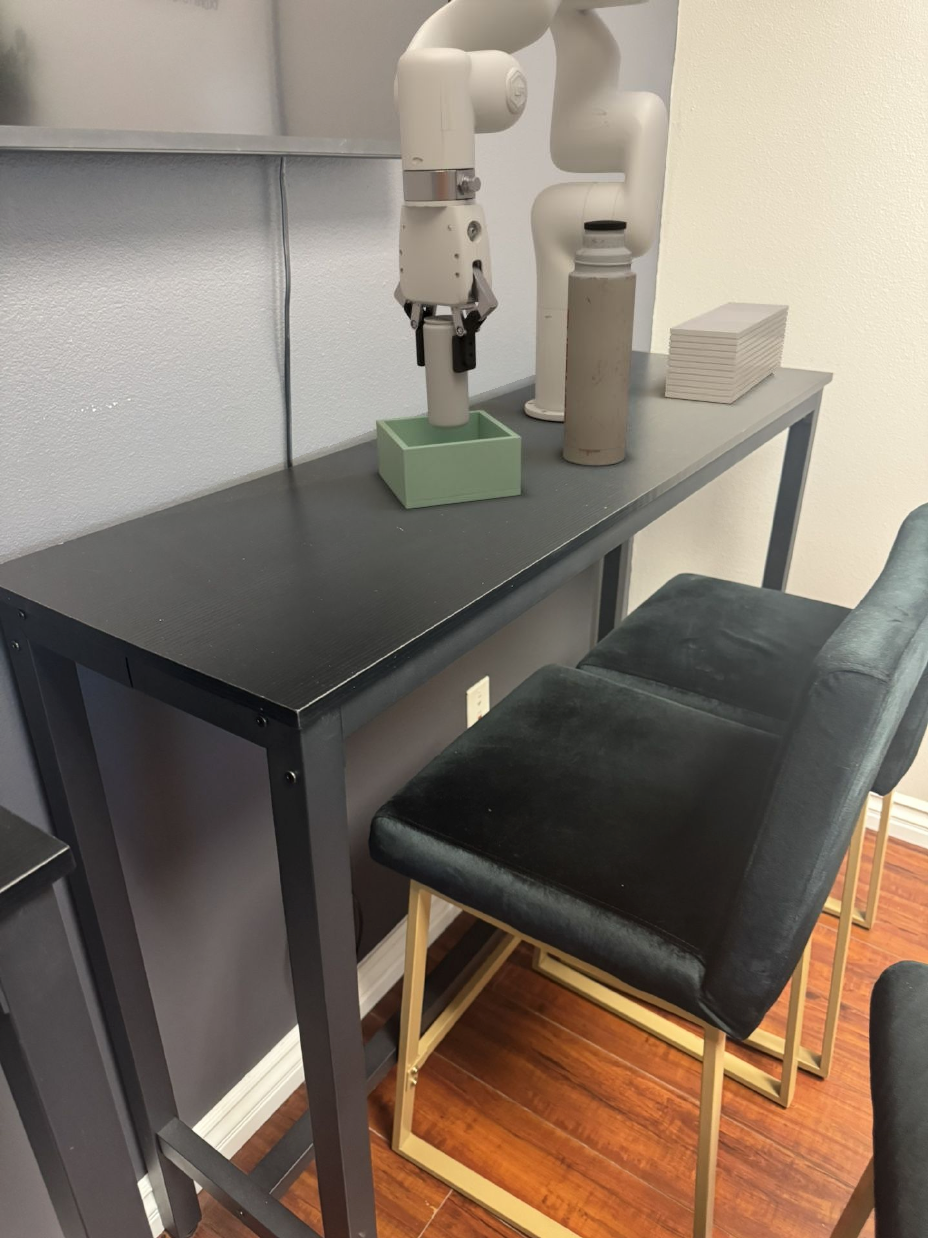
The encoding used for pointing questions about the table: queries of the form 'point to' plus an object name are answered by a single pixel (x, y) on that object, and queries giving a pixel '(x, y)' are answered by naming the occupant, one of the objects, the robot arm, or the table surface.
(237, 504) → the table surface
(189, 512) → the table surface
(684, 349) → the stack of papers
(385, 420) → the open box
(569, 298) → the thermos bottle
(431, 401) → the beverage can
